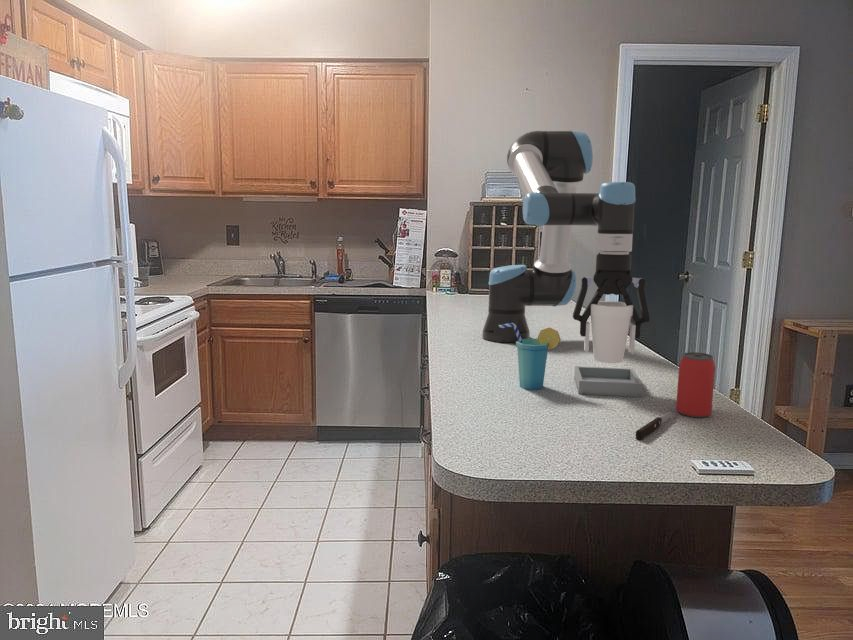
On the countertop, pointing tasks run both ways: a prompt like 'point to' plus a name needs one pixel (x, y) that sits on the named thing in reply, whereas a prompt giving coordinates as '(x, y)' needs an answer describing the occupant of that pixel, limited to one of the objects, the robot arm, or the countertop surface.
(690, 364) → the beer can
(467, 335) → the countertop surface
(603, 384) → the tray
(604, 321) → the foam cup
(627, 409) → the countertop surface
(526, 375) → the cup
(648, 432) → the kitchen knife
